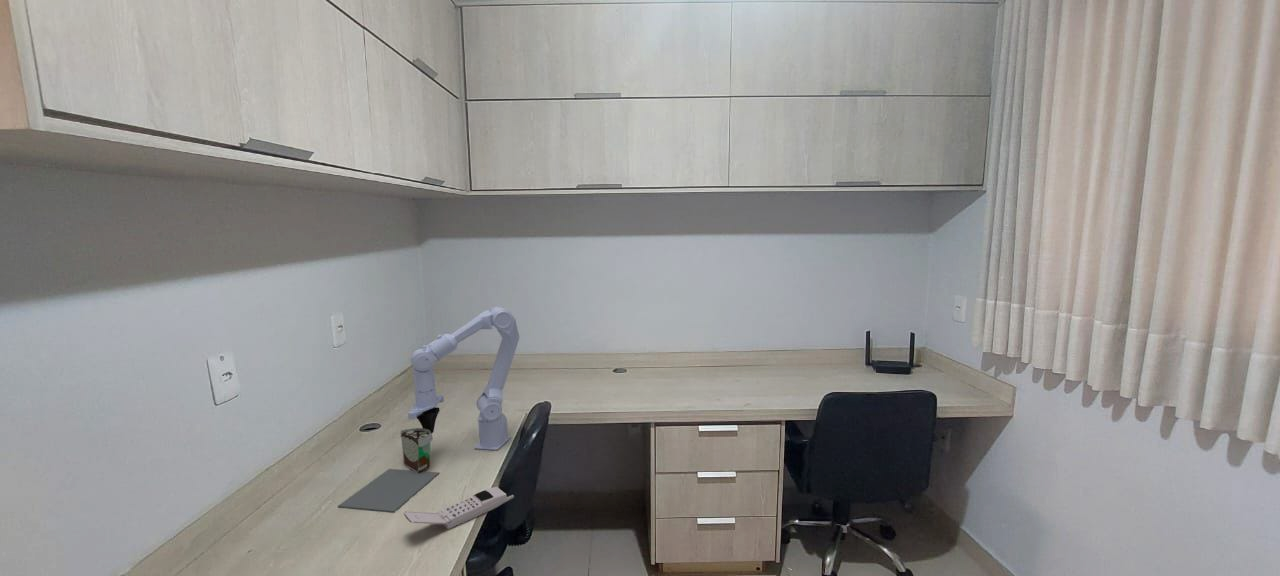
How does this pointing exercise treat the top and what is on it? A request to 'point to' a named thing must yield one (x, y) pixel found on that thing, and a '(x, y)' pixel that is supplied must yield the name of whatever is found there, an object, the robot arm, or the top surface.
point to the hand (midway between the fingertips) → (429, 433)
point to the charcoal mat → (389, 490)
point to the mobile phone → (462, 509)
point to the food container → (416, 448)
